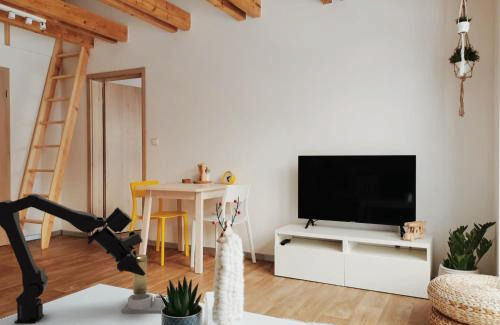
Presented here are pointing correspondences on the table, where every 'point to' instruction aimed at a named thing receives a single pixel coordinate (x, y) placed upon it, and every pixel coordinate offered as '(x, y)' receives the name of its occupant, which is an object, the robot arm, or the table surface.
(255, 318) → the table surface
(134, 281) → the gold metal cylinder
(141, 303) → the manifold plate
